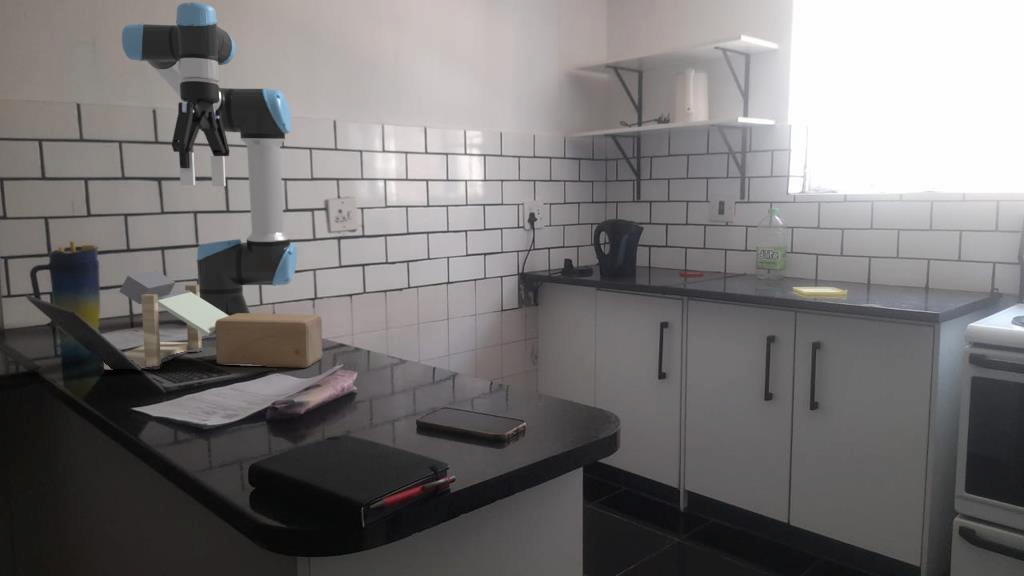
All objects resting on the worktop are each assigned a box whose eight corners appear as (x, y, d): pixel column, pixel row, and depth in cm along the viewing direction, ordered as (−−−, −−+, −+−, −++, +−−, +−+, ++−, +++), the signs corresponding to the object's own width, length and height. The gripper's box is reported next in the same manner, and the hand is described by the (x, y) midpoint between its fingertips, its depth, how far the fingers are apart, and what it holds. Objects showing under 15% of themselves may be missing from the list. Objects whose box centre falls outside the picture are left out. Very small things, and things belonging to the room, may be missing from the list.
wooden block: (214, 366, 153) (307, 369, 152) (212, 319, 152) (306, 321, 150) (236, 356, 163) (323, 358, 161) (235, 312, 162) (322, 314, 160)
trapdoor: (152, 284, 164) (160, 269, 164) (231, 334, 165) (239, 319, 164) (114, 292, 151) (123, 276, 150) (201, 346, 151) (210, 330, 150)
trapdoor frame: (154, 350, 169) (151, 283, 167) (202, 351, 168) (199, 284, 166) (104, 369, 150) (99, 294, 148) (157, 370, 149) (153, 295, 148)
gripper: (210, 91, 164) (214, 186, 167) (148, 72, 139) (154, 184, 142) (242, 91, 164) (246, 186, 166) (186, 72, 139) (192, 184, 142)
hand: (204, 185), depth 154 cm, fingers open, 13 cm apart
